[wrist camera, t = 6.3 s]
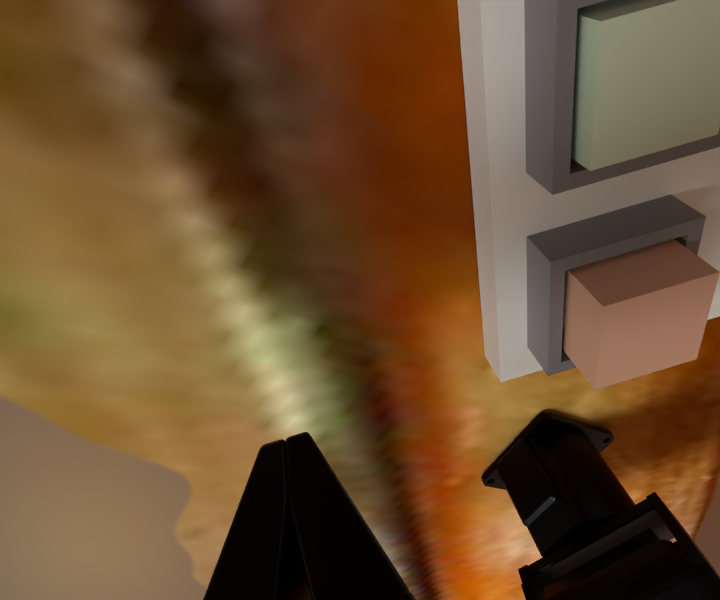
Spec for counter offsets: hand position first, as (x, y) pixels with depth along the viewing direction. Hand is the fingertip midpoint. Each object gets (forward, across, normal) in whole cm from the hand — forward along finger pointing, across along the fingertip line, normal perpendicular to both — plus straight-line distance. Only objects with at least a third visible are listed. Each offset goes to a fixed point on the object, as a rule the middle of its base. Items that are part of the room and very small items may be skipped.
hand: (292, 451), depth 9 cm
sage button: (+11, -13, -1) cm, 17 cm away
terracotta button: (+9, -13, +8) cm, 18 cm away
